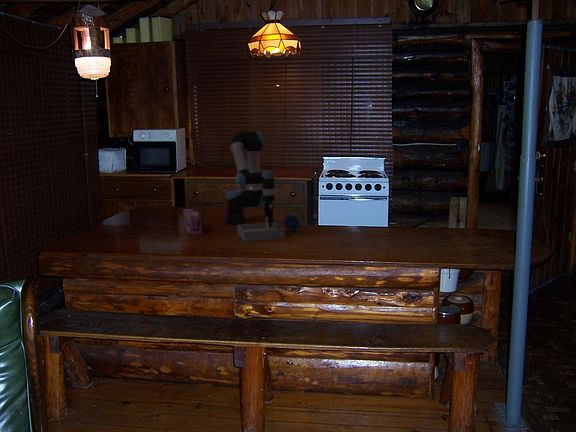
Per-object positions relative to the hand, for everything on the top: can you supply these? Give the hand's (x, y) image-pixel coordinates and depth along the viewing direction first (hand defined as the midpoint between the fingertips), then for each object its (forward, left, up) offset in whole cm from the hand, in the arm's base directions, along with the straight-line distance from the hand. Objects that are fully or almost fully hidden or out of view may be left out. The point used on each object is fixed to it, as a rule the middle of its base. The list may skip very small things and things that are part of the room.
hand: (269, 230), depth 371 cm
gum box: (-30, -46, -4) cm, 54 cm away
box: (0, -6, -3) cm, 6 cm away
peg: (0, 0, -3) cm, 3 cm away
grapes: (-4, +16, -4) cm, 17 cm away
